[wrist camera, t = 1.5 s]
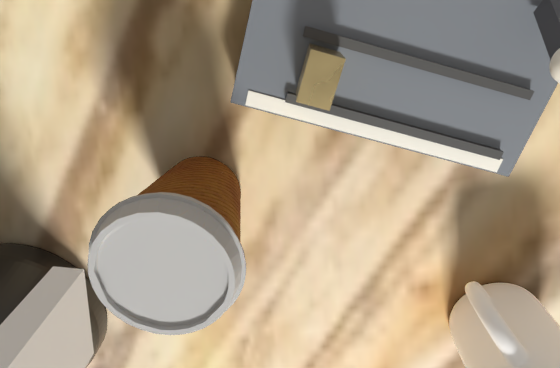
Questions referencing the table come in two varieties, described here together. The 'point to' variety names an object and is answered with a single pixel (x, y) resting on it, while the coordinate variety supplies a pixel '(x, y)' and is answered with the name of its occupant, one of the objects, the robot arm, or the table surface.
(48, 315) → the robot arm
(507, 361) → the mug
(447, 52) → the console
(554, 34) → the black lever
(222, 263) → the disposable coffee cup
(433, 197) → the table surface
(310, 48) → the brass slider
